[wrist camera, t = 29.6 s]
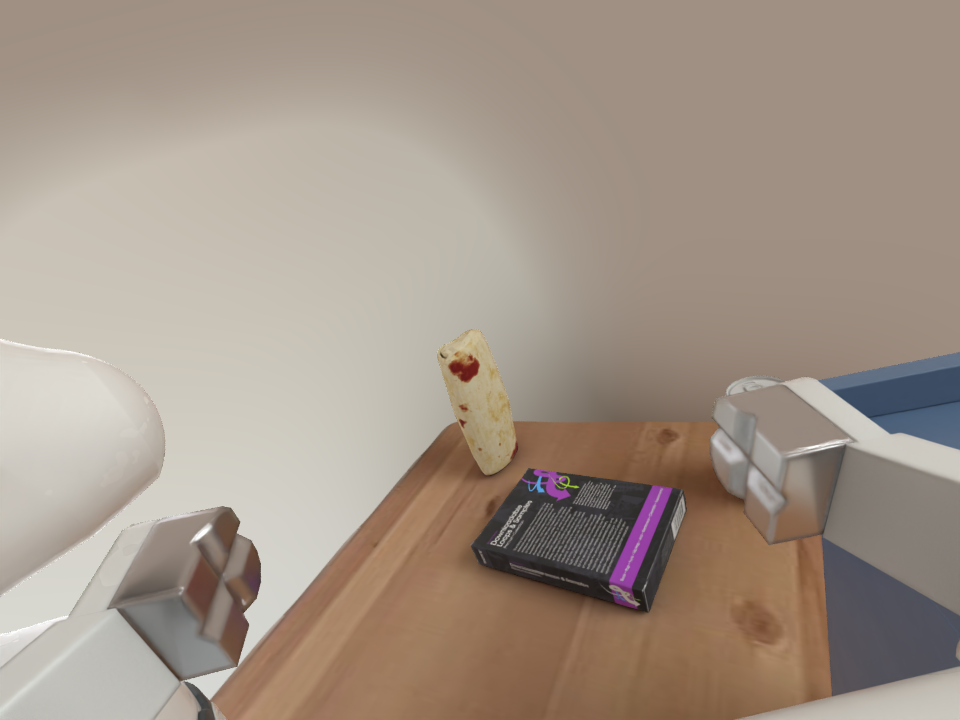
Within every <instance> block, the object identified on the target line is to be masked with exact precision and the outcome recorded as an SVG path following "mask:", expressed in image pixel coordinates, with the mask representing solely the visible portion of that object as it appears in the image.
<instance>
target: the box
mask: <svg viewBox="0 0 960 720" xmlns="http://www.w3.org/2000/svg"><path fill="white" fill-rule="evenodd" d="M686 510H687V508H686V501H685V494H684V491H683V490H682V489H677V488H669V487H662V486H655V485H646V484H639V483H632V482H625V481H618V480H610V479H603V478H596V477H589V476H582V475H574V474H567V473H559V472H552V471H544V470H537V469H530V468H528V469H527V470H526V472H525V474H524V476H523V477H522V478H521V480H520V481H519V482H518V484H517V485H516V486H515V488H514V489H513V490H512V492H511V493H510V494H509V495H508V497H507V498H506V500H505V501H504V502H503V504H502V505H501V506H500V508H499V509H498V511H497V512H496V513H495V515H494V516H493V517H492V519H491V520H490V522H489V523H488V524H487V526H486V527H485V528H484V530H483V531H482V532H481V534H480V535H479V536H478V538H477V539H476V540H475V541H474V542H473V543H472V544H471V548H472V550H473V552H474V555H475V557H476V559H477V561H478V563H479V564H481V565H484V566H488V567H491V568H495V569H498V570H501V571H505V572H509V573H512V574H516V575H519V576H523V577H526V578H530V579H533V580H536V581H540V582H543V583H547V584H550V585H554V586H557V587H561V588H564V589H568V590H571V591H575V592H578V593H582V594H585V595H588V596H592V597H596V598H599V599H603V600H606V601H610V602H614V603H617V604H621V605H624V606H628V607H631V608H635V609H638V610H641V611H645V612H650V609H651V606H652V603H653V600H654V597H655V595H656V592H657V589H658V586H659V583H660V581H661V578H662V575H663V573H664V570H665V567H666V564H667V562H668V559H669V556H670V553H671V550H672V548H673V545H674V542H675V539H676V536H677V533H678V531H679V528H680V525H681V523H682V520H683V518H684V515H685V512H686Z"/></svg>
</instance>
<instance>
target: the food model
mask: <svg viewBox="0 0 960 720" xmlns="http://www.w3.org/2000/svg"><path fill="white" fill-rule="evenodd" d="M437 358H438V361H439V365H440V368H441V371H442V375H443V378H444V381H445V384H446V387H447V390H448V393H449V397H450V401H451V405H452V408H453V411H454V414H455V416H456V419H457V421H458V423H459V425H460V428H461V430H462V432H463V434H464V437H465V439H466V441H467V443H468V446H469V448H470V450H471V452H472V455H473V457H474V458H475V460H476V462H477V464H478V465H479V467H480V469H481V470H482V472H483V473H484V474H485V475H491V474H494V473H497V472H499V471H500V470H502V469H503V468H504V467H505V466H506V465H507V464H508V463H509V462H510V461H511V460H512V459H513V457H514V456H515V453H516V452H517V449H518V446H517V441H516V435H515V429H514V424H513V420H512V415H511V409H510V404H509V400H508V397H507V393H506V390H505V388H504V385H503V382H502V379H501V376H500V374H499V371H498V368H497V366H496V363H495V361H494V358H493V356H492V353H491V351H490V348H489V346H488V343H487V341H486V339H485V337H484V335H483V334H482V332H481V331H479V330H477V329H471V330H469V331H466V332H465V333H463V334H462V335H460V336H459V337H458V338H457V339H455V340H453V341H452V342H450V343H448V344H446V345H443V346H442V347H441V348H439V350H438V353H437Z"/></svg>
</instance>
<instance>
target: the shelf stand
mask: <svg viewBox="0 0 960 720" xmlns="http://www.w3.org/2000/svg"><path fill="white" fill-rule="evenodd" d="M818 381H819V382H820V383H821V384H823V385H824V386H825V387H827V388H828V389H829V390H831V391H832V392H833V393H835V394H836V395H838V396H839V397H840V398H842V399H843V400H844V401H846V402H847V403H848V404H850V405H851V406H853V407H854V408H855V409H857V410H858V411H859V412H861V413H862V414H863V415H865V416H866V417H867V418H869V419H870V420H872V421H873V422H874V423H876V424H877V425H878V426H880V427H881V428H882V429H884V430H885V431H886V432H888V433H889V434H891V435H892V434H897V433H904V434H907V435H911V436H914V437H917V438H921V439H924V440H927V441H931V442H934V443H938V444H941V445H944V446H948V447H951V448H954V449H958V450H960V352H958V353H954V354H948V355H943V356H938V357H933V358H928V359H924V360H918V361H913V362H908V363H903V364H898V365H893V366H888V367H883V368H879V369H873V370H868V371H863V372H858V373H853V374H848V375H843V376H838V377H833V378H828V379H823V380H818ZM822 546H823V561H824V577H825V593H826V608H827V624H828V640H829V656H830V671H831V687H832V696H836V695H840V694H845V693H849V692H853V691H857V690H862V689H866V688H870V687H874V686H878V685H883V684H887V683H891V682H895V681H899V680H904V679H908V678H912V677H916V676H920V675H925V674H929V673H933V672H937V671H941V670H946V669H950V668H954V667H958V666H960V661H959V660H958V658H957V657H956V648H957V644H958V642H959V640H960V616H959V615H958V614H956V613H954V612H952V611H951V610H949V609H947V608H945V607H944V606H942V605H940V604H939V603H937V602H935V601H933V600H932V599H930V598H928V597H926V596H925V595H923V594H921V593H919V592H918V591H916V590H914V589H912V588H911V587H909V586H907V585H905V584H904V583H902V582H900V581H898V580H897V579H895V578H893V577H891V576H890V575H888V574H886V573H884V572H883V571H881V570H879V569H877V568H876V567H874V566H872V565H870V564H869V563H867V562H865V561H863V560H862V559H860V558H858V557H856V556H855V555H853V554H851V553H849V552H848V551H846V550H844V549H843V548H841V547H839V546H837V545H836V544H834V543H832V542H830V541H829V540H827V539H825V538H823V534H822Z"/></svg>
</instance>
